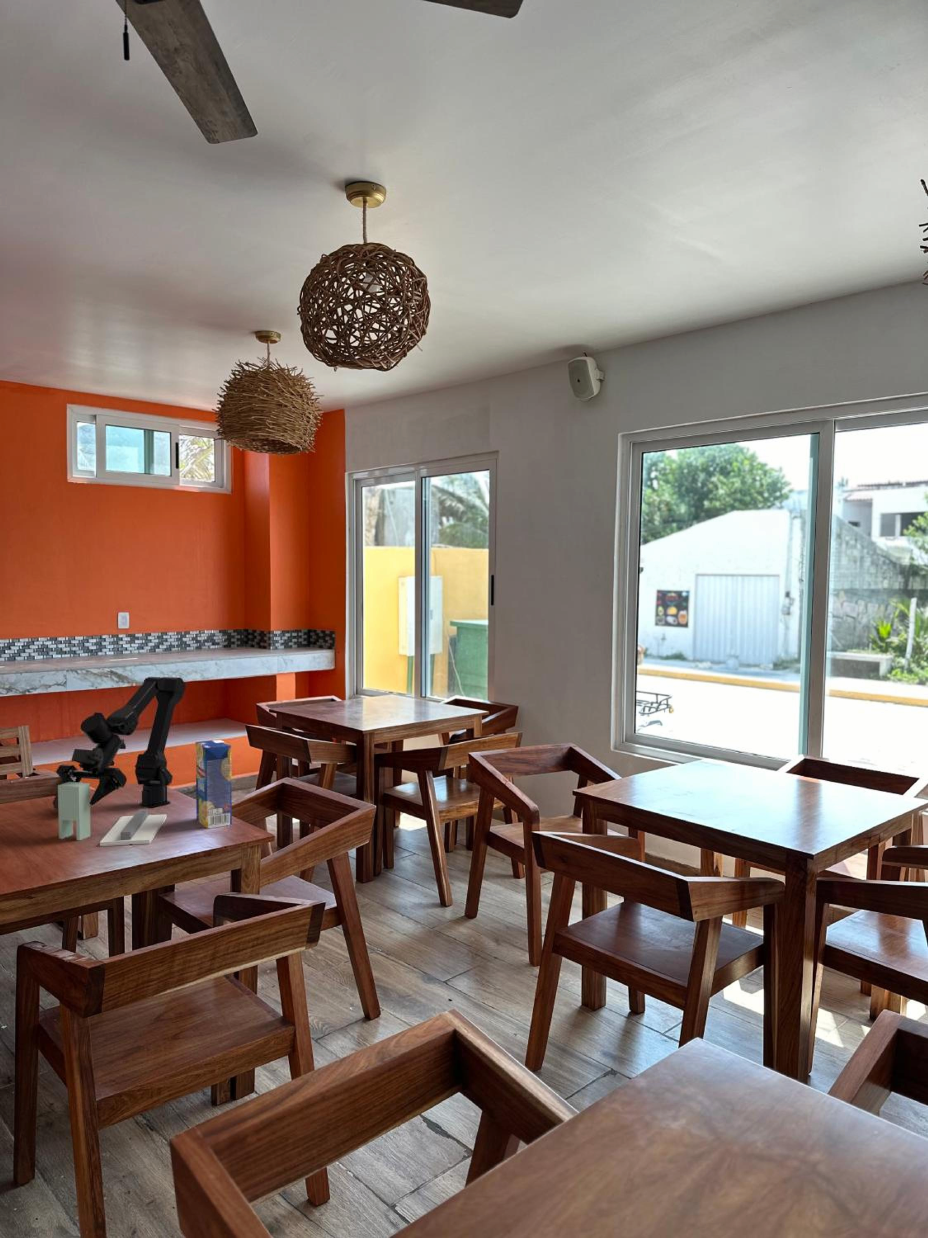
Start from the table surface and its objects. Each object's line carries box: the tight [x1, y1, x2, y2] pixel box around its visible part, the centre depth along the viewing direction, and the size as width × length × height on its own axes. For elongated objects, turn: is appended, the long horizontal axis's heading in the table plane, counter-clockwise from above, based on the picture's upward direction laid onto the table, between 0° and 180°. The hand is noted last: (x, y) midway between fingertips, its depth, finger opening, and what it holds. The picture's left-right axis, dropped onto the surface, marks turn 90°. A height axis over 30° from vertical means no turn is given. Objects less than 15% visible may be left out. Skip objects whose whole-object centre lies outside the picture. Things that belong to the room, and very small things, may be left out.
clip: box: [57, 782, 91, 841], centre depth 216 cm, size 4×6×14 cm, turn 75°
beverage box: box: [195, 739, 233, 829], centre depth 230 cm, size 7×11×22 cm, turn 32°
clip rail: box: [99, 808, 167, 847], centre depth 221 cm, size 24×12×3 cm, turn 10°
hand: (76, 803), depth 216 cm, fingers open, 9 cm apart
